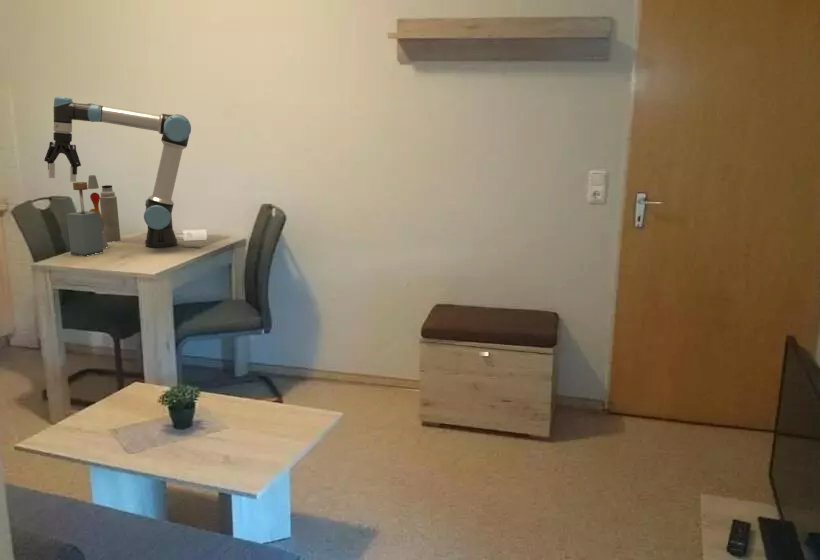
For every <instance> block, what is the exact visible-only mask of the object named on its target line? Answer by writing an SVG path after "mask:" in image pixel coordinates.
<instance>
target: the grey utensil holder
mask: <svg viewBox="0 0 820 560" xmlns="http://www.w3.org/2000/svg"><path fill="white" fill-rule="evenodd" d="M84 211H85V214H81V211H76V212H70V213H66V219H67V220H66V221H67V222H66V223H67V231H68V241H69V248H70V255H72V254H76V255H75V256H79V255H85V256H84V257H88V256H87V255H90V256H92V255H91V254H94V255H96V254H95V253H99V254H101V253H100V252H103V253H104V249H103V243H102V233H101V223H100V213H101V212H100V213H99V212H90V210H89V211H88V210H84Z"/></svg>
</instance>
